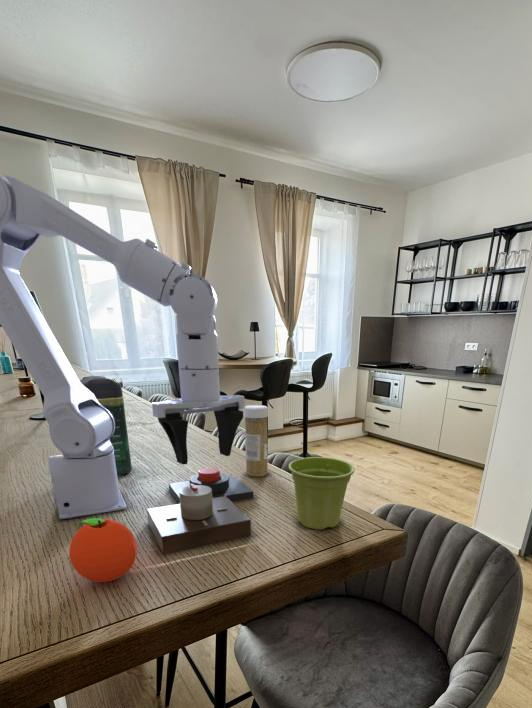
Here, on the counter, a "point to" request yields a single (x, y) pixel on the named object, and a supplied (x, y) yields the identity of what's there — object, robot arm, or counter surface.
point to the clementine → (102, 550)
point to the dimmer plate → (197, 526)
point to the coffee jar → (113, 401)
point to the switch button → (209, 474)
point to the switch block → (217, 488)
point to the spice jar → (256, 440)
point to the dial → (196, 502)
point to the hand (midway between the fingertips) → (204, 458)
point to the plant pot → (320, 489)
